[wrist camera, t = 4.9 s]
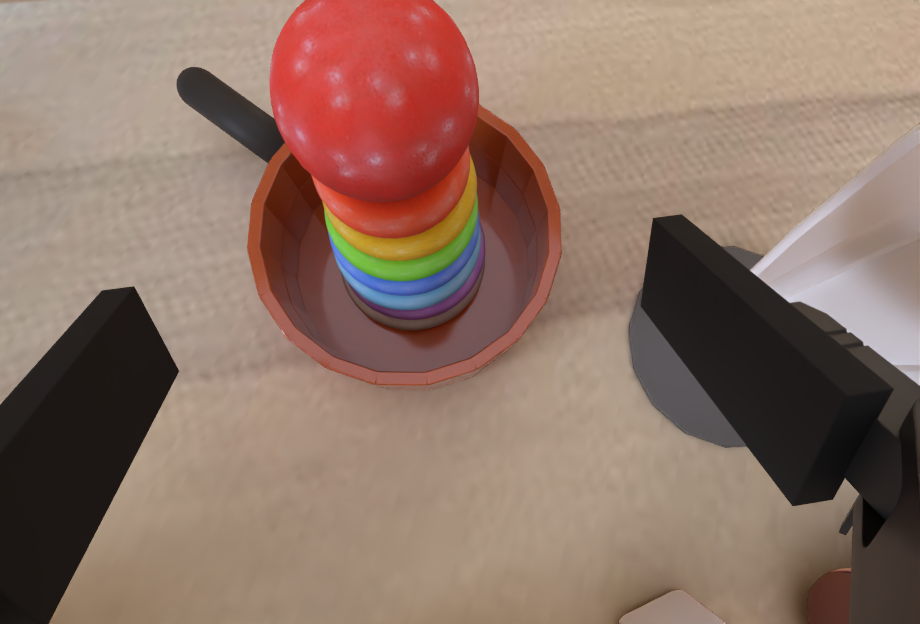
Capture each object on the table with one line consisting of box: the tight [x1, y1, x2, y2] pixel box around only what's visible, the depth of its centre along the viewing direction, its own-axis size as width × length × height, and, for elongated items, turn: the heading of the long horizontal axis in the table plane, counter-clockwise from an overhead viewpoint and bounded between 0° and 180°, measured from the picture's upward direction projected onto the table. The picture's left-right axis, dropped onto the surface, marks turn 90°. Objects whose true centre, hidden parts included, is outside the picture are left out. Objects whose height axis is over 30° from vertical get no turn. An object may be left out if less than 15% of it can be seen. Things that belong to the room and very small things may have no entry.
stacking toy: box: [270, 0, 485, 330], centre depth 19 cm, size 8×8×19 cm
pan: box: [247, 104, 561, 390], centre depth 26 cm, size 14×14×6 cm
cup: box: [629, 123, 920, 448], centre depth 18 cm, size 12×12×22 cm
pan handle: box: [177, 67, 285, 164], centre depth 26 cm, size 8×2×2 cm, turn 53°
